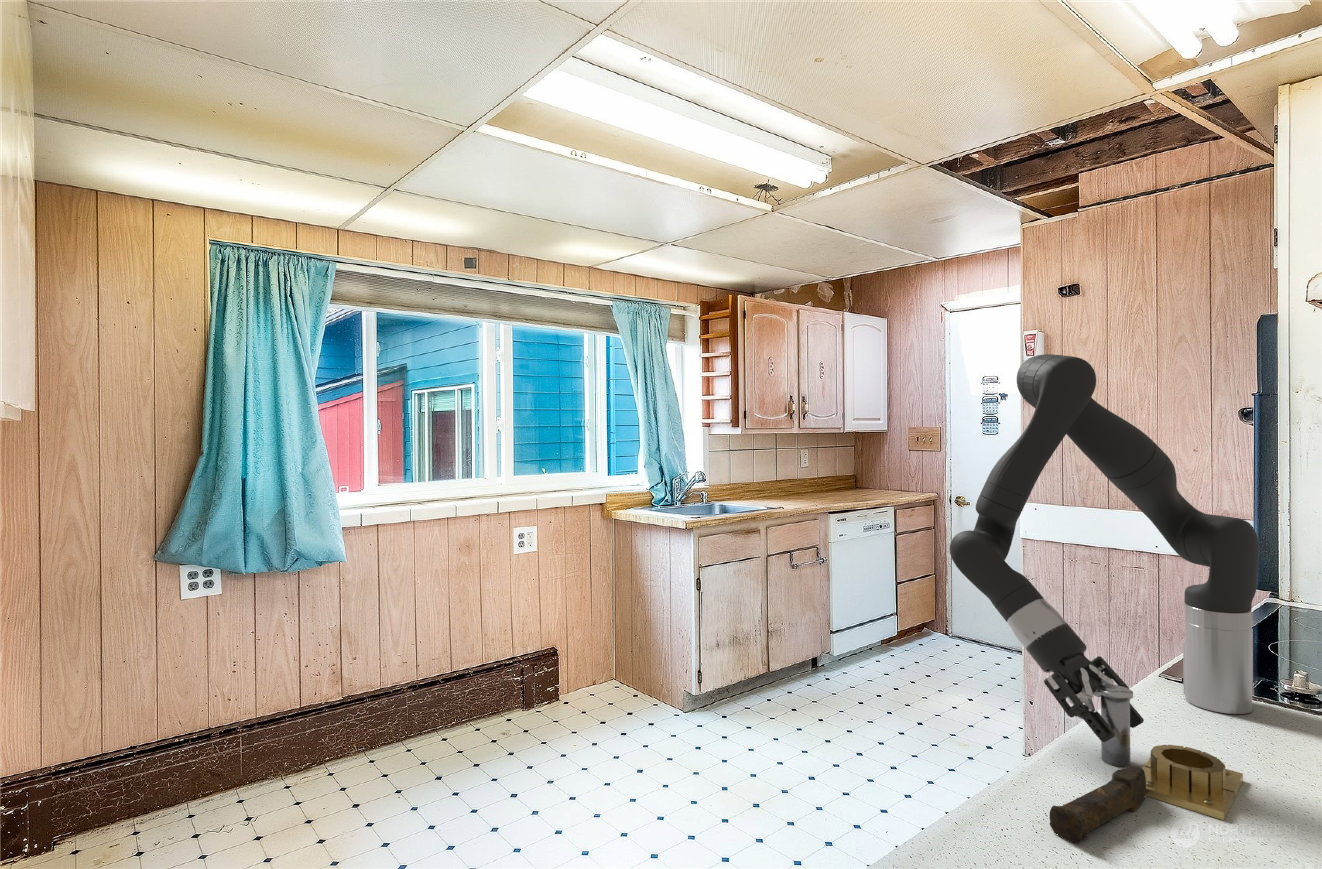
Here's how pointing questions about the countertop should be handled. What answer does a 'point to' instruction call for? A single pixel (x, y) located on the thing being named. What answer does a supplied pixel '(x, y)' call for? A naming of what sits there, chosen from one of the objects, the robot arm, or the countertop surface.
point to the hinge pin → (1116, 724)
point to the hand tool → (1100, 804)
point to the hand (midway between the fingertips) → (1124, 731)
